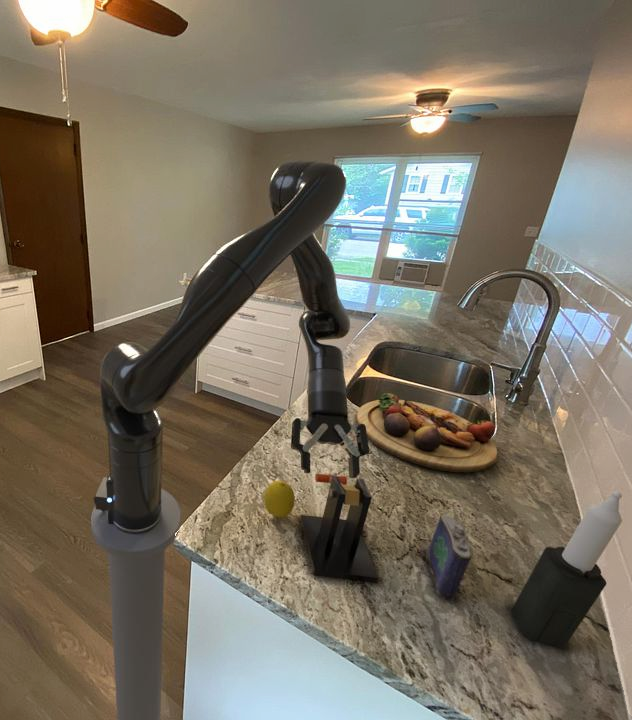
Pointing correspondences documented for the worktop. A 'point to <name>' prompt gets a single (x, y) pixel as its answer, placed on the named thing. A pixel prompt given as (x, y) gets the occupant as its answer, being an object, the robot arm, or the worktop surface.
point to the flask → (448, 556)
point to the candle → (567, 579)
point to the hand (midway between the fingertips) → (330, 475)
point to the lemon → (279, 499)
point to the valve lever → (349, 491)
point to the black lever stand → (340, 537)
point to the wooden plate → (428, 435)
